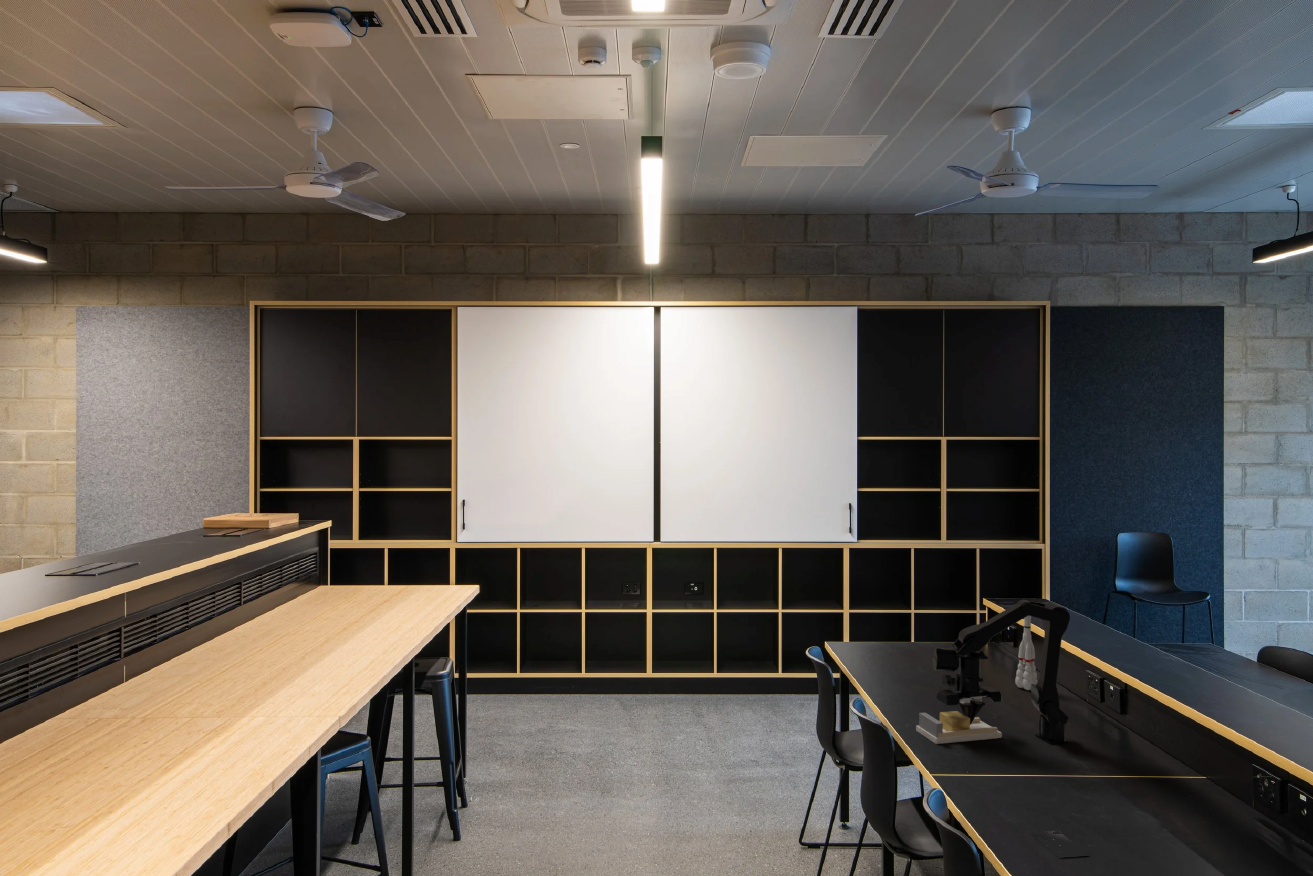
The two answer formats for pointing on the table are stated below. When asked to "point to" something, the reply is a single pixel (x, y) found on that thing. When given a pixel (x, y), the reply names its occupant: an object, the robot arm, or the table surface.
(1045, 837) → the solid state drive
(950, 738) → the track
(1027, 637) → the rocket model
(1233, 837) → the table surface
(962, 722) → the block
